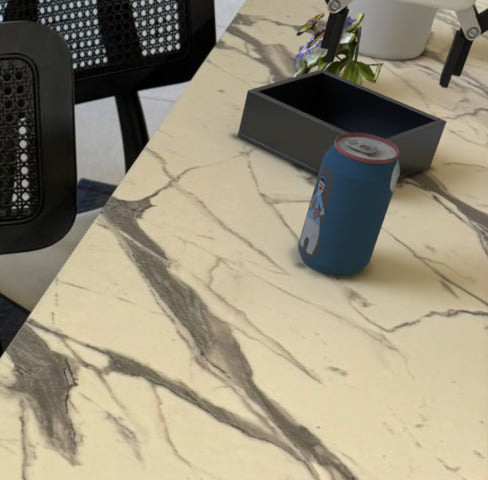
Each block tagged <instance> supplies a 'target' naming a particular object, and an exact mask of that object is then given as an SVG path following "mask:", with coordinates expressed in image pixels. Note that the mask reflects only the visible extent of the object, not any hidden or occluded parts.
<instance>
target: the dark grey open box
mask: <svg viewBox="0 0 488 480" xmlns="http://www.w3.org/2000/svg"><path fill="white" fill-rule="evenodd" d="M244 101H245V102H244V106H243V110H242V114H241V119H240V123H239V128H238V133H237V138H238V139H240V140H242V141H244V142H246V143H248V144H250V145H252V146H254V147H256V148H258V149H260V150H263V151H264V152H267V153H269V154H271V155H273V156H274V157H277V158H279V159H281V160H283V161H285V162H287V163H289V164H291V165H292V166H295V167H297V168H299V169H301V170H303V171H305V172H307V173H309V174H311V175H313V176H316V177H318V174H319V170H320V167H321V164H322V160H323V157H324V155H325V153H326V152H327V151H328V150H329V149H330V148H331V147H332V146H333V145H334V142H335V139H336V138H337V137H338V136H340V135H342V134H346V133H364V134H370V135H374V136H378V137H381V138H384V139H386V140H389V141H390V142H392V143H393V144H395V145H396V146H397V148H398V149H399V156H398V161H399V167H400V174H399V177H398V180H397V182H400V181H402V180H404V179H407V178H409V177H412V176H415V175H417V174H419V173H422V172H425V171H427V170H429V169H430V168H431V166H432V164H433V161H434V157H435V155H436V152H437V150H438V147H439V144H440V142H441V138H442V135H443V132H444V130H445V127H446V125H447V121H446V120H444V119H442V118H440V117H437V116H435V115H433V114H430V113H428V112H425V111H424V110H420V109H418V108H416V107H413V106H411V105H409V104H406V103H404V102H402V101H399V100H396V99H394V98H392V97H390V96H387V95H385V94H382V93H380V92H377V91H375V90H372V89H370V88H368V87H366V86H363V85H362V84H361V85H358V84H356V83H354V82H351V81H349V80H347V79H344V78H342V76H340V75H339V76H337V75H335V74H332V73H330V72H327V71H325V70H322V69H321V70H318V69H317V70H313V71H309V72H308V73H307V74H303V75H300V76H296V77H293V76H292V77H289V78H286V79H283V80H278V81H277V82H276V81H275V82H271V83H269V84H265V85H262V86H258V87H255V88H252V89H251V88H250V89H247V93H246V97H245V100H244Z"/></svg>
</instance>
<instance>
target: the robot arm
mask: <svg viewBox="0 0 488 480" xmlns="http://www.w3.org/2000/svg"><path fill="white" fill-rule="evenodd" d="M324 1H325V4H326V5H327V10H328V12H329V14H328V17H327V20H326V23H327V24H325V26H326V28H325V27H324V28H325V31H324V35H323V39H322V42H321V46H320V48H322V49H327V54H326V57H325V61H324V63H328V65H330V63H333V62H335V59H336V57H335V56H336V54H337V51H338V48H339V44H340V41H341V37H342V34H343V30H344V27H345V23H346V20H347V16H348V13H349V9H347V8H348V4H350V3H351V2H352V1H354V0H324ZM396 1H401V2H406V3H412V4H417V5H422V6H428V7H433V8H438V9H437V10H439V9H440V10H445V11H452V12H453V11H454V13H455V15H456V17H457V20H458V23H459V25H460V28H459V30H458V29H456V31H455V33H454V37H453V39H452V42H451V44H450V48H449V51H448V53H447V56H446V59H445V61H444V64H443V67H442V70H441V72H440V77H439V81H438V85H439V86H440V88H444V89H448V87H449V85H450V82H451V79H452V77H453V76H455V77H459V78H460V77H461V75H462V73H463V70H464V67H465V65H466V62H467V59H468V57H469V55H470V51H471V49H472V46H473V43H474V41H475V40H477V39H479V37H480V36H482V35H483V34H484V33H486V32H488V7H487V8H485V9H484V10H482V11H481V12H479V9H478V7H477V4H476V2H477V0H396Z"/></svg>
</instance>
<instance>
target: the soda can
mask: <svg viewBox="0 0 488 480" xmlns="http://www.w3.org/2000/svg"><path fill="white" fill-rule="evenodd" d="M398 156H399V149H398V148H397V146H396V145H395V144H393V143H392V142H390V141H389V140H386V139H384V138H381V137H378V136H374V135H370V134H364V133H346V134H342V135H340V136H338V137H337V138H336V139H335V142H334V145H333V146H332V147H331V148H330V149H329V150H328V151H327V152H326V153H325V155H324V157H323V160H322V164H321V167H320V170H319V174H318V177H317V176H316V177H317V178H316V181H315V184H314V187H313V188H314V189H313V191H312V195H311V198H310V201H309V205H308V209H307V213H306V216H305V219H304V222H303V226H302V230H301V233H300V237H299V240H298V243H297V247H298V252H299V256H300V258H301V261H302V263H303V264H304V265H305V266H306V267H307V268H308V269H310V270H312V271H314V272H316V273H318V274H321V275H325V276H329V277H334V278H347V277H348V278H349V277H353V276H356V275H357V274H358V273H360V272H361V271H363V270H364V269H365V268H366V267H367V266H368V265H369V263H370V262H371V259H372V256H373V253H374V251H375V247H376V244H377V242H378V238H379V236H380V233H381V230H382V228H383V224H384V221H385V218H386V215H387V212H388V209H389V207H390V203H391V201H392V197H393V194H394V193H395V192H394V191H395V189H396V186H397V182H398V181H397V180H398V177H399V174H400V167H399V161H398Z"/></svg>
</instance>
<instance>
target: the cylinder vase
mask: <svg viewBox="0 0 488 480" xmlns="http://www.w3.org/2000/svg"><path fill="white" fill-rule="evenodd" d="M347 9H349V13H348V16H347V17H349V16H350V18H351V19H354V18H356V17H357V15H358V14H359V13H364V14H365V15H364V18H363V20H362V21H361V22H362V23H361V27H362V29H361V38H360V43H359V52H358V55H359V54H360V55H361V56H362V55H363V56H366V57H370V58H375V59H381V60H388V61H389V60H390V61H405V60H412V59H415V58H417V57H419V56H420V55H421V54H422V53H423V52H424V51H425V48H426V46H427V43H428V39H429V35H430V33H431V30H432V28H433V24H434V21H435V18H436V15H437V12H438V10H439V9H438V8H433V7H428V6H422V5H417V4H412V3H406V2H401V1H396V0H354V1H352V2H351V3H350V4H348V8H347ZM353 32H355V31H353ZM356 42H357V37H356ZM355 51H356V50H355Z"/></svg>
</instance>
